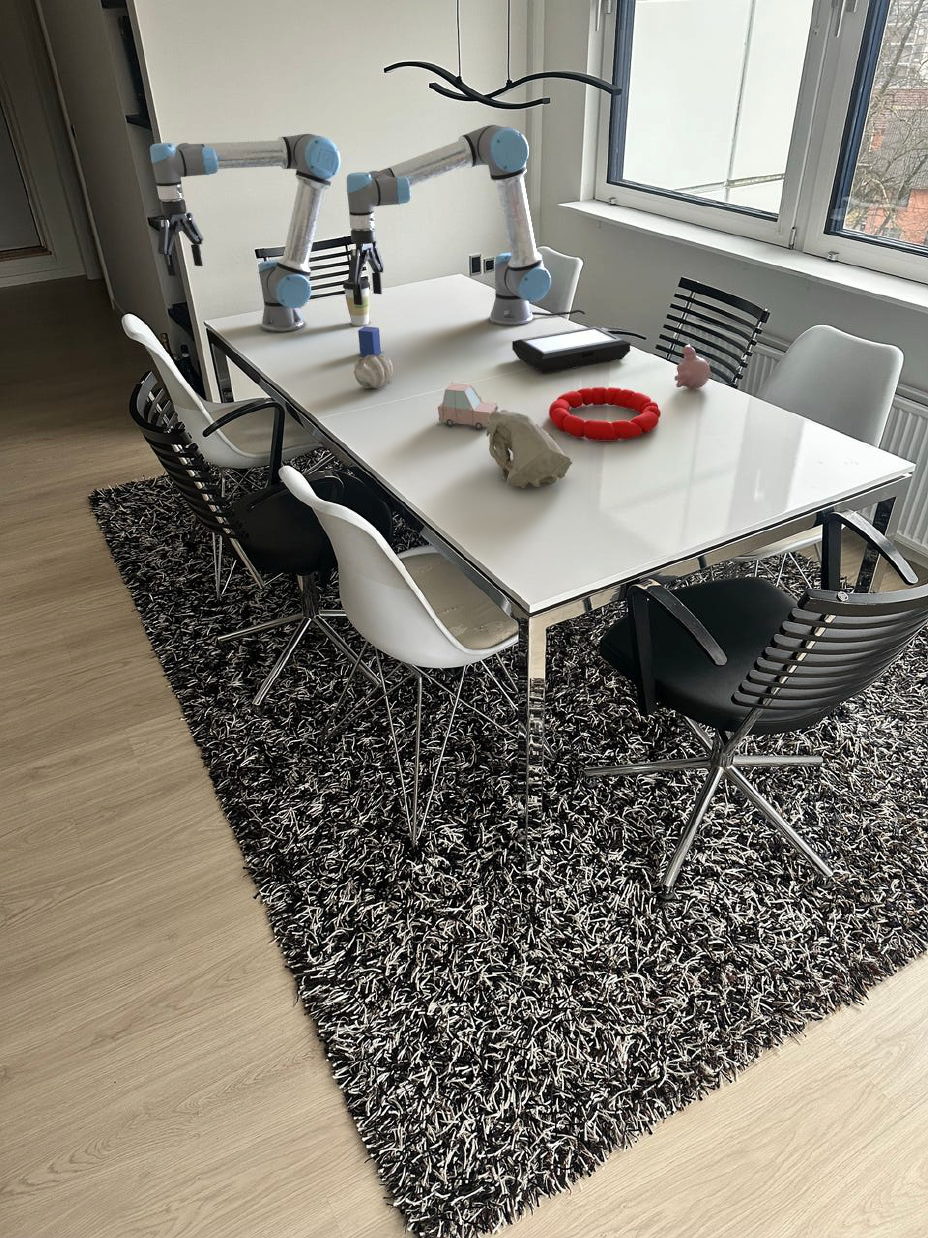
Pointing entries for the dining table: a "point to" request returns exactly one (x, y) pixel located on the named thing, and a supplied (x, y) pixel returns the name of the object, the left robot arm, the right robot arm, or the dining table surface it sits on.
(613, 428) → the decorative ring
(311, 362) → the dining table surface
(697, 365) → the figurine
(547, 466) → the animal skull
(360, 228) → the right robot arm
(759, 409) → the dining table surface
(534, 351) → the electronic device
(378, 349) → the brick
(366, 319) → the coffee cup
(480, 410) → the toy car
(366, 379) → the seashell
